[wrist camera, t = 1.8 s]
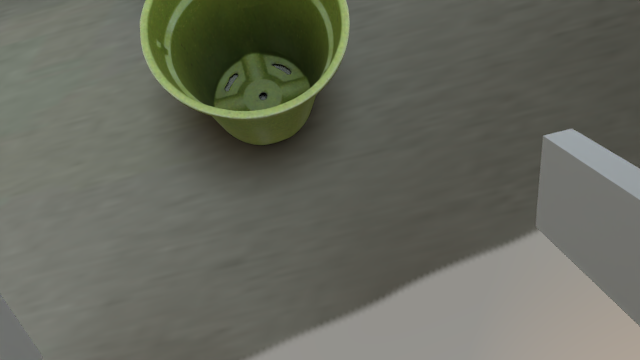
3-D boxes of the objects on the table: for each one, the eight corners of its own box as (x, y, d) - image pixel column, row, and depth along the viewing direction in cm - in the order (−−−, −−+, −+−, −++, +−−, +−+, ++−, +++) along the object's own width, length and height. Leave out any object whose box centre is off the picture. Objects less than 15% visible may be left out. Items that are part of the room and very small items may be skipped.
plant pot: (297, 199, 28) (291, 153, 20) (158, 132, 29) (98, 62, 21) (362, 70, 31) (382, -19, 22) (232, 12, 32) (205, -95, 23)
